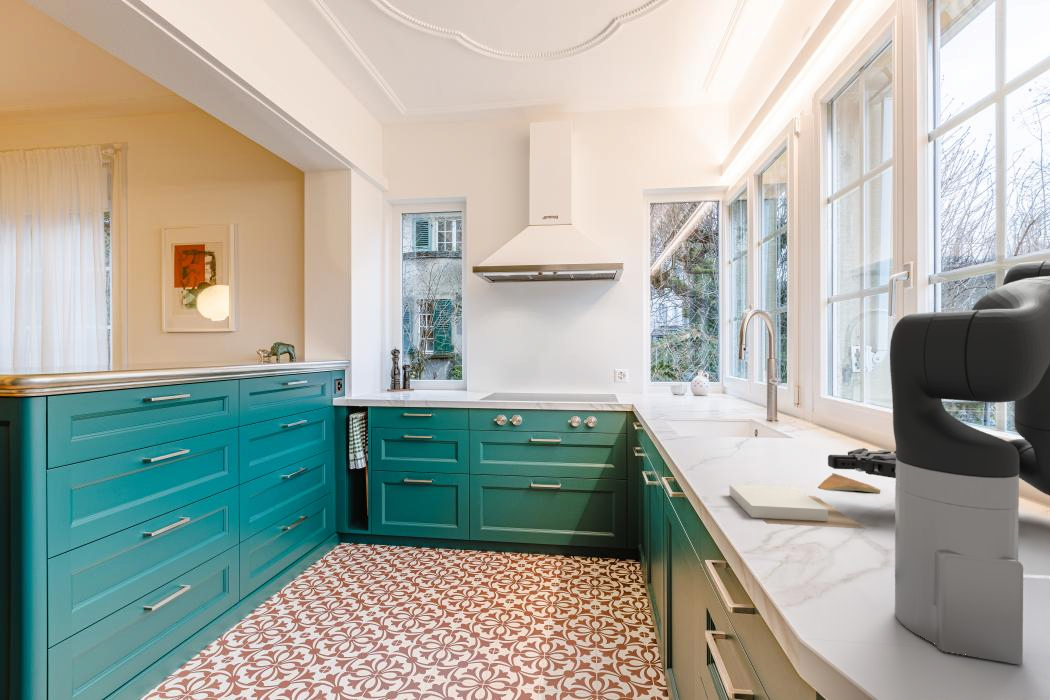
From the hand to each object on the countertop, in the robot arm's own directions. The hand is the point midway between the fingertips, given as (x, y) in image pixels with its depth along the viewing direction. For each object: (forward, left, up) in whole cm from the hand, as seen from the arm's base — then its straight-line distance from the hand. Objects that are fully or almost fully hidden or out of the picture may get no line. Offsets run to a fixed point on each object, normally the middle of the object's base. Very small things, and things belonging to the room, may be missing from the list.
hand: (830, 461), depth 80 cm
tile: (-1, +3, -8) cm, 8 cm away
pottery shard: (+16, -8, -10) cm, 21 cm away
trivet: (-1, +6, -9) cm, 11 cm away
